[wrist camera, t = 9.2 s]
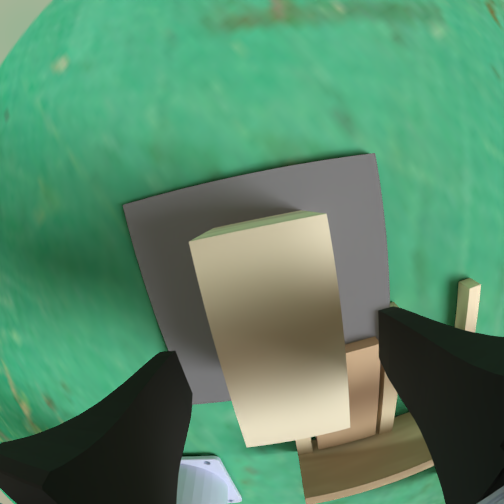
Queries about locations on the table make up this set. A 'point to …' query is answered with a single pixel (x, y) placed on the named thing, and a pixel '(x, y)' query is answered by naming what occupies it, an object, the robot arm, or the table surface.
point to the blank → (277, 324)
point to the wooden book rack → (372, 425)
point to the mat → (249, 208)
